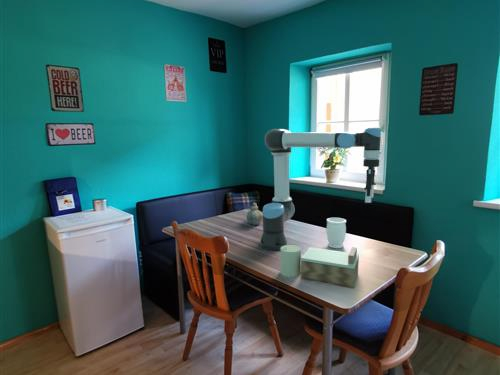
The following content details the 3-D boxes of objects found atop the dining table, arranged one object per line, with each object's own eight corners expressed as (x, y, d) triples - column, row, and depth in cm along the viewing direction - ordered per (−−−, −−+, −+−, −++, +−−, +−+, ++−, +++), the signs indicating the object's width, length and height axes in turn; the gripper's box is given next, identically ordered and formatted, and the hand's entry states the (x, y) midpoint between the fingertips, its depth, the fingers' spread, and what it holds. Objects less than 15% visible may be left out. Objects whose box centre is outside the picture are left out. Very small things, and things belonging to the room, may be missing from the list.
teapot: (263, 228, 210) (263, 206, 208) (246, 228, 210) (245, 206, 208) (262, 219, 231) (262, 199, 229) (247, 219, 231) (246, 199, 229)
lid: (300, 260, 136) (301, 250, 135) (309, 249, 148) (309, 239, 147) (354, 269, 126) (354, 258, 125) (358, 256, 139) (359, 246, 138)
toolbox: (300, 278, 137) (300, 261, 136) (309, 266, 150) (309, 250, 148) (353, 288, 128) (354, 269, 126) (358, 274, 140) (358, 257, 139)
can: (278, 268, 147) (278, 244, 145) (298, 267, 148) (298, 243, 146) (282, 277, 138) (282, 251, 136) (303, 276, 139) (303, 250, 137)
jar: (346, 249, 169) (347, 222, 166) (326, 248, 171) (327, 222, 169) (344, 243, 179) (345, 217, 177) (325, 242, 181) (326, 216, 179)
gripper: (377, 161, 146) (375, 205, 150) (381, 156, 169) (378, 195, 172) (360, 160, 150) (358, 204, 153) (366, 156, 172) (364, 194, 175)
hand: (369, 199), depth 163 cm, fingers open, 13 cm apart
